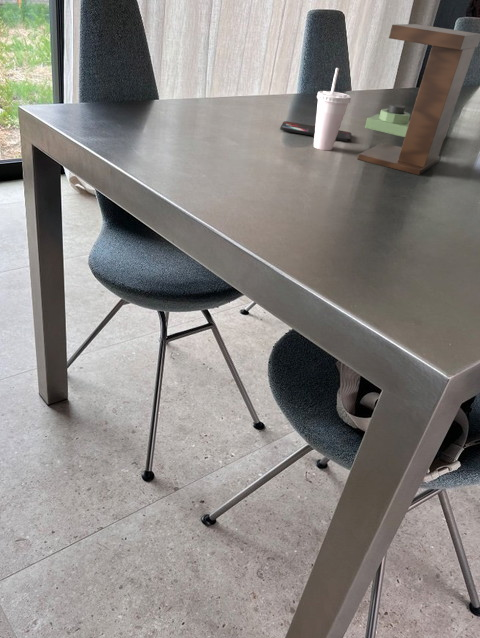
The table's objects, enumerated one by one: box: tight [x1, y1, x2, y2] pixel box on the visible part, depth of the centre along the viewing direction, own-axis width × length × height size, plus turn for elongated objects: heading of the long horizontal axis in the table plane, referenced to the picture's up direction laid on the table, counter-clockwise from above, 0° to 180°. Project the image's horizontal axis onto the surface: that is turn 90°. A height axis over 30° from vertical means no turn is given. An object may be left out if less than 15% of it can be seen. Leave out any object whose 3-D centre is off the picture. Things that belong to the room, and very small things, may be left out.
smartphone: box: [279, 121, 352, 143], centre depth 121 cm, size 7×1×15 cm
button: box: [387, 103, 406, 114], centre depth 130 cm, size 4×4×2 cm
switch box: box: [364, 108, 411, 138], centre depth 131 cm, size 10×8×4 cm
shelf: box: [357, 23, 480, 176], centre depth 104 cm, size 12×14×22 cm
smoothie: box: [313, 67, 352, 151], centre depth 108 cm, size 6×6×14 cm
